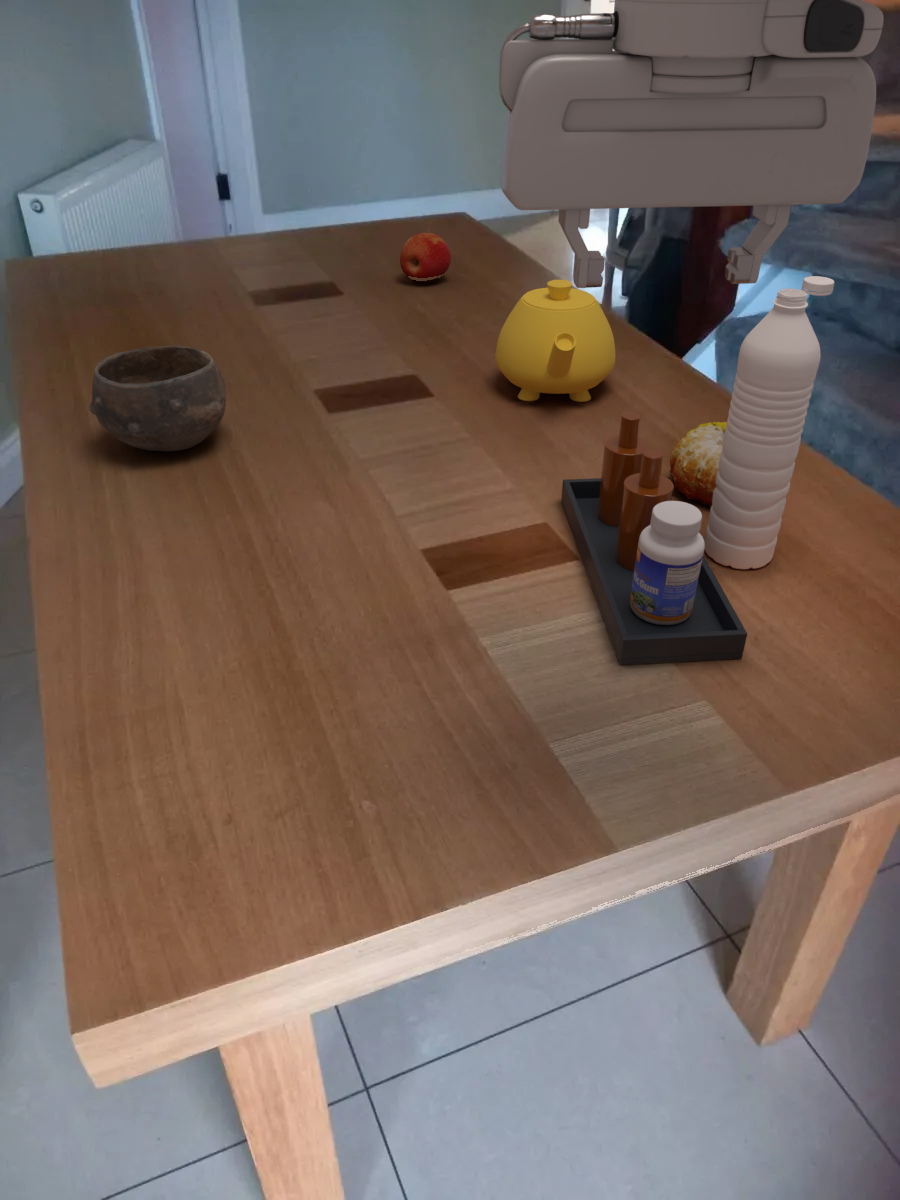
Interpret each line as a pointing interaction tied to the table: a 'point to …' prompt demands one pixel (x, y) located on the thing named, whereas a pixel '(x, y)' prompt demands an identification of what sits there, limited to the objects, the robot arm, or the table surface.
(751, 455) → the water bottle
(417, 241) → the apple
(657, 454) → the amber bottle
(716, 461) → the fruit
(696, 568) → the pill bottle
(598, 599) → the tray
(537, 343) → the teapot
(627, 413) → the amber bottle
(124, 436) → the bowl
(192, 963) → the table surface
